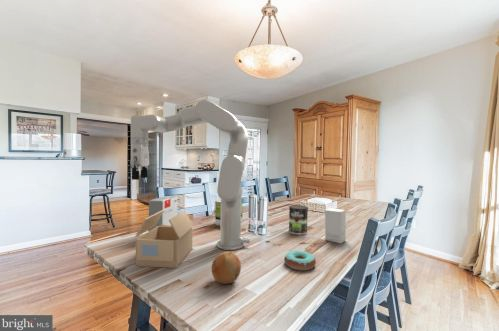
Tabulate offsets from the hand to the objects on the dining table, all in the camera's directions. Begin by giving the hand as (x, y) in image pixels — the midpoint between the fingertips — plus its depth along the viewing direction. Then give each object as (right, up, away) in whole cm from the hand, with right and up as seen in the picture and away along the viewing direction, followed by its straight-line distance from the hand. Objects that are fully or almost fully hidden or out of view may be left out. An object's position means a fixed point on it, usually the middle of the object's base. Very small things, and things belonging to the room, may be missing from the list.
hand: (140, 178), depth 116 cm
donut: (+71, -33, -21) cm, 81 cm away
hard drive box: (+8, -31, +10) cm, 33 cm away
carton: (+18, -31, -15) cm, 39 cm away
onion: (+44, -33, -34) cm, 65 cm away
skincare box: (+95, -32, +7) cm, 100 cm away
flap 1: (+9, -21, -15) cm, 27 cm away
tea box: (+39, -30, +36) cm, 61 cm away
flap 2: (+26, -21, -16) cm, 37 cm away
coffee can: (+79, -31, +21) cm, 87 cm away
